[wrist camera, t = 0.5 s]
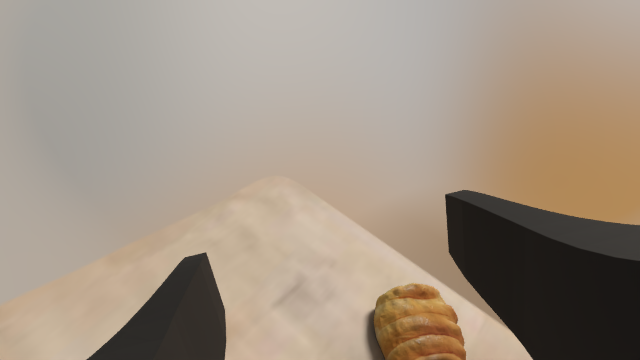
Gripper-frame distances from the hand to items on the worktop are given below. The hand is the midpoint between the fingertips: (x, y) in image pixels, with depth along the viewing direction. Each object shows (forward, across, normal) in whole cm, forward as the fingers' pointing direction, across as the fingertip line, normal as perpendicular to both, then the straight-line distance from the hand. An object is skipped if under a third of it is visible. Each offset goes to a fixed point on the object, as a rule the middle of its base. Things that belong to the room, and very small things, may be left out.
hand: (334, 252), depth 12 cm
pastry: (+14, -6, +20) cm, 25 cm away
